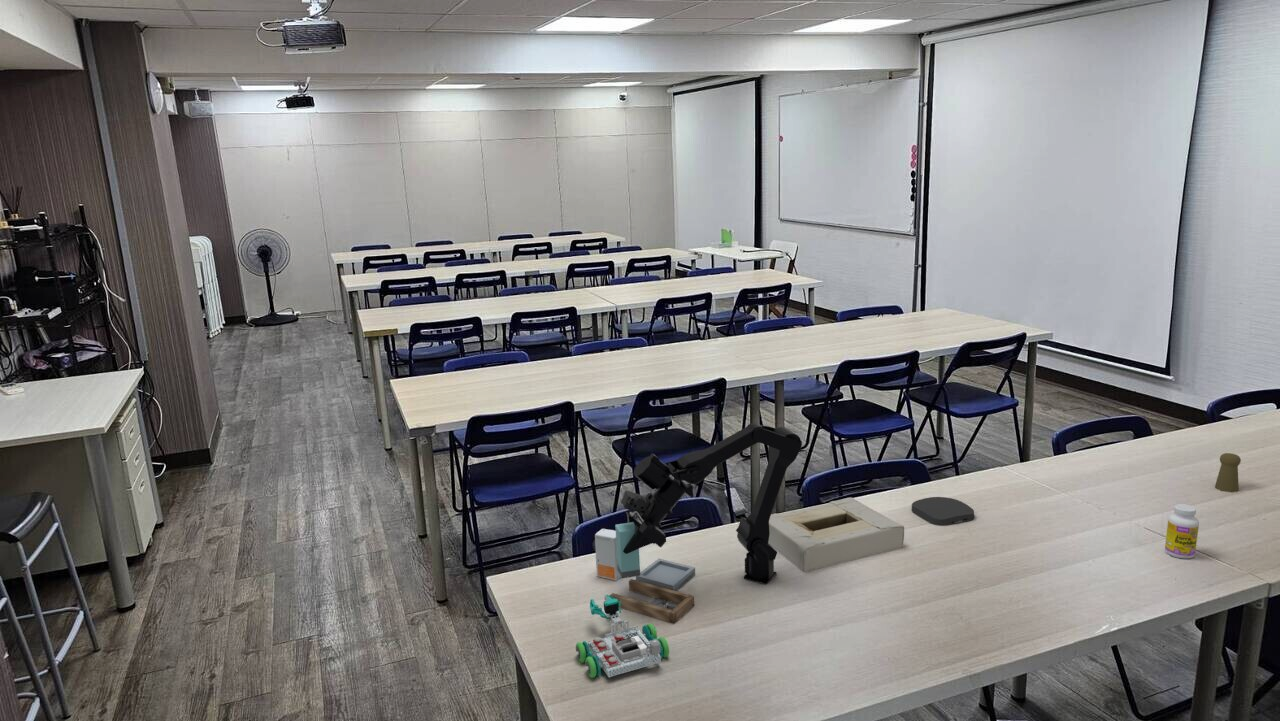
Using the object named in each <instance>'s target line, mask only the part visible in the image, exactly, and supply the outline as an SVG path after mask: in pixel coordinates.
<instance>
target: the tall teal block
mask: <svg viewBox="0 0 1280 721" xmlns="http://www.w3.org/2000/svg"><path fill="white" fill-rule="evenodd" d="M614 528H615V531H616V546H617V568H618V572H619V574H620V576H621V577H620V578H621V579H628V578H634V577H635V578H636V576H640V572H641V565H640V564H641V562H640V548H639V549H637V550H635V551H632V552H630V553H628V554H625V553H624V552H623V550H624V549H625V547H626V545H627V544H628V542H629V541H630V540H631V538H632V537H633V535H634V534H635V524H634V522H630V523H627V522H626V523H618V524H615V526H614Z"/></svg>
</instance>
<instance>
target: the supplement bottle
mask: <svg viewBox="0 0 1280 721" xmlns="http://www.w3.org/2000/svg"><path fill="white" fill-rule="evenodd" d="M1173 511H1174V513H1171V514H1169V516H1168V518H1167V525H1166V526H1167V527H1166V534H1165V543H1164V551H1165V552H1166V554H1168V555H1169V556H1171V557H1174V558H1177V559H1183V560H1184V559H1188V560H1189V559H1193V558H1194V557H1195V556H1196V550H1197V543H1198V542H1197V541H1198V536H1199V535H1198V534H1199V527H1200V522H1199V519H1198V518H1197V517H1196V516H1195V515H1196V514H1197V513H1196V512H1197V509H1196V508H1195V506H1193V505H1188V504H1184V503H1179V504H1175V505H1174V506H1173Z"/></svg>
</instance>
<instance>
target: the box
mask: <svg viewBox="0 0 1280 721" xmlns="http://www.w3.org/2000/svg"><path fill="white" fill-rule="evenodd" d="M769 531H770V535H769V541H768V543H769V544H770V545H771V546H772V547H773V548H774V549H775V550H776V551H777V553H779V554H780V555H781V556H782V557H784V558H785V559H786V560H788V561H789V562H791V563H792V564H793V565H794V566H795V567H797V568H798V569H800V570H801V571H802V572H804V573H806V572H810V571H814V570H817V569H821V568H825V567H829V566H833V565H837V564H841V563H846V562H849V561H853V560H857V559H861V558H866V557H869V556H874V555H878V554H882V553H886V552H890V551H895V550H898V549H901V548H902V549H903V547H904V542H905V541H904V539H905V525H902V524H901V523H898V522H896V521H894V520H893V519H891V518H889V517H887V516H885V515H883V514H882V513H880V512H878V511H876V510H874V509H873V508H871V507H869V506H867V505H865V504H863V503H862V502H860V501H858V500H856V499H855V498H853V497H851V496H850V497H846V498H842V499H837V500H832V501H831V500H830V501H829V502H828V503H824V504H819V505H814V506H809V507H805V508H801V509H799V508H798V509H795V510H790V511H784V512H781V513H776V512H775V513H771V516H770V519H769Z"/></svg>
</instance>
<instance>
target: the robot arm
mask: <svg viewBox="0 0 1280 721" xmlns="http://www.w3.org/2000/svg"><path fill="white" fill-rule="evenodd" d="M759 443H760V444H761V445H766V446H767V449H768V450H767V452H768V463H767V466H766V468H765V471H764V475H763V477H762V480H761V484H760V486H759V489H758V492H757V495H756V497H755V501H754V504H753V507H752V510H751V512H750V514H749V515H748V516H747V517H743V516H741V517H740V518H739V524H738V526H737V528H736V529H735V532H736V534H737V535H736V538H737V540H738V542H739V543H740V544H741V546H742V547H743V548H745V550H746V551H747V552H746V553H745V554H746V555H745V556H746V557H745V558H744V573H745V574H744V575H743V579H744V580H748V581H752V582H756V583H759V584H764V585H767V584H768V583H770V582H771V580H773V578H774V577H775V576H777V572H776V571H775V563H774V562H775V560H776V558H777V555H778V552H777V551H776V550H775V549H774V548H773V547H772V546H771V545H770V544H769V543H768V541H769V535H770V531H769V519H770V516H771V514H773V510H774V507H775V504H776V501H777V498H778V495H779V493H780V489H781V486H782V484H783V481H784V478H785V476H786V472H787V469H788V467H790V465H792V464H793V463H794V462H795V461H796V459H797V457H798V456H799V453H800V451H801V450H802V447H803V441H802V440H801V437H799V435H797V433H795V432H793V431H791V429H789V428H787V427H784V426H781V427H777V428H776V427H773V426H768V425H762V424H759V423H756V422H750V423H749V424H747V425H746V426H745V427H743V428H742V429H741V430H739V431H737V432H735V433H733V434H731V435H729V436H728V437H726V438H723V439H722V440H721V441H719V442H717V443H715V444H713V445H711V446H710V447H707V448H705V449H698V450H693V451H691V452H689V453H685V454H683V455H680V457H678V459H674V460H670V461H666V462H662V460H660V458H659V457H657V456H656V454H654V453H651V454H650V455H649V456H646V457H644V458H643V459H641V460H640V461H638V462H637V464H636V465H635V468H634V469H633V476H635V477H636V478H637V479H639V481H641V482H642V483H643V484H644V485H645V486H647V487H648V488H649V489H650V490H655V489H656V490H655V492H654V493H652V492H649V493H647V494H646V495H645V496H644V495H642V494H640V493H636V492H634V491H630V490H624V493H623V495H622V498H621V501H620V504H622V506H623V509H625V510H628V511H626V512H625V513H626V517H627V522H626V523H630V522H634V524H635V534H634V535H633V537H632V538H631V540H630V541H629V542H628V544H627V545H626V547H625V549H624V550H623V552H624V553H625V554H628V553H630V552H632V551H635V550H637V549H639V550H640V549H642V548H644V547H646V546H648V545H651V544H653V545H656V546H658V547H659V548H662V547H663V546H664V545H665V544H666V543H667V536H666V534H665V533H664V532H663V530H662V529H660V528H661V527H662V525H661V522H663V520H664V519H665V518H666V517H667V515H668V516H669V517H671V516H672V515H673V511H672V510H673V508H674V507H675V506H676V505H677V504H678V502H679V501H680V500H681V499H682V498H683V497H684V496H685V494H686V495H687V496H689V497H690V498H694V496H695V495H694V485H696V484H699V483H701V482H702V481H703V480H705V479H706V478H707V477H708V476H710V474H711V473H712V472H713V471H714V469H715V468H716V467H718V466H719V465H720V464H722V463H724V462H726V461H727V460H729V459H731V458H733V457H735V456H736V455H738V454H740V453H742V452H743V451H745V450H747V449H749V448H751V447H753V446H755V445H756V444H759ZM685 482H686V483H685Z"/></svg>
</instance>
